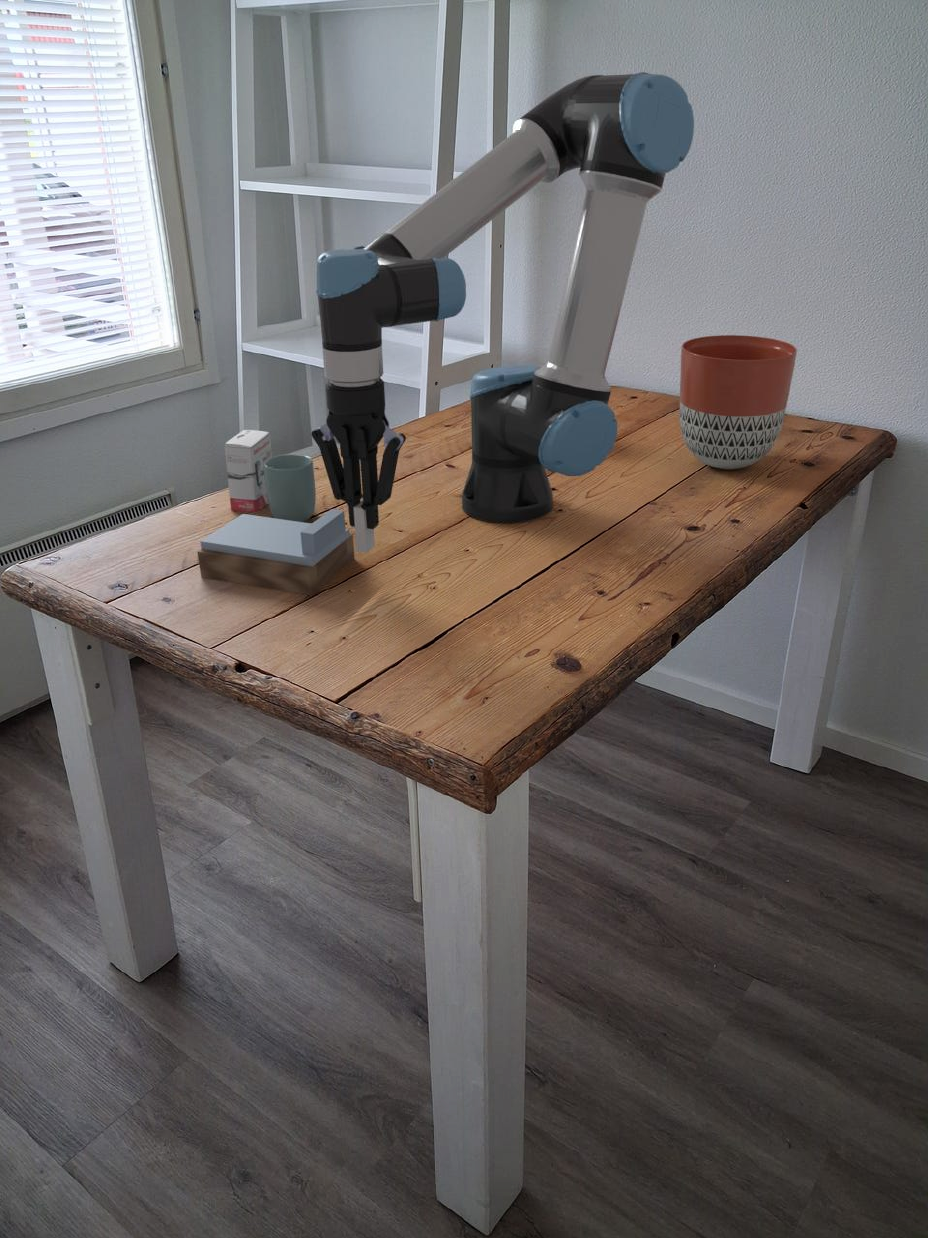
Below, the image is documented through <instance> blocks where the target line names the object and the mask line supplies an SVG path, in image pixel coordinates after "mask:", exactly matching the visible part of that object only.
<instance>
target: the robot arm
mask: <svg viewBox="0 0 928 1238" xmlns="http://www.w3.org/2000/svg"><path fill="white" fill-rule="evenodd" d="M688 99H689V97H688V94H687V92H686V91H685V89H684V88H683V86H682V85H681V84H680V83H679V82H678V81H677V80H675V79H674V78H672V77H670V76H668V75H666V74H665V75H663V74H656V73H655V74H654V73H648V72H645V71H643V72H637V73H631V74H630V73H629V74H610V75H608V74H607V75H605V74H604V75H603V74H602V75H601V74H595V75H594V74H593V75H592V74H591V75H589V76H584V77H581V78H578V79H576V80H574V81H572V82H571V83H568V84H566V85H564V86H562V87H561V88H560V89H558V90H557V91H555V92H554V93H552V94H551V95H549V96H548V97H546V98H545V99H543V100H542V101H541V102H539V103H538V104H537V105H535V106H534V107H533V108H531V109H530V110H529V111H527V112H526V113H525V114H524V115H522V116H521V117H520V118H519V119H517V120H516V121H515V122H514V123H513V125H512V128H511V132H510V133H511V134H510V135H509V136H508V137H506V138H505V139H504V140H502V141H500V143H499V144H497V145H496V146H495V147H493V148H492V149H491V150H490V151H489V152H487V153H486V154H484V155H483V156H482V157H480V158H479V159H478V160H477V161H475V162H474V163H472V164H471V166H469V167H468V168H466V170H463V171H462V172H461V173H459V175H457V176H456V177H455V178H454V179H453V180H451V181H449V182H448V183H447V184H445V186H444V187H442V188H441V189H440V190H438V191H437V192H435V193H434V194H433V195H431V196H430V197H429V198H427V200H425V201H424V202H422V203H421V204H420V205H419V206H417V207H416V208H415V209H414V210H412V211H411V212H410V213H409V214H407V215H406V216H404V217H403V218H402V219H401V220H400V221H398V222H396V223H395V224H394V225H393V226H392V227H390V228H389V229H388V230H386V231H385V232H384V233H383V234H381V235H380V236H378V237H376V239H374V240H373V241H372V242H370V243H369V244H368V245H367V246H366V245H361V246H354V247H353V246H352V247H349V248H347V249H345V248H344V249H333V250H328V251H325V252H323V253H321V254H320V255H319V256H318V258H317V261H316V295H317V300H318V301H317V302H318V309H319V318H320V331H321V345H322V357H323V358H322V360H323V361H322V362H323V372H324V378H325V379H327V382H326V383H325V386H324V387H325V396H326V398H325V399H326V408H327V410H328V414H327V417H326V422H325V424H322V425H321V426H319V427H317V428H315V429H314V430H312V431H311V438H313V441H315V443H316V445H317V446H318V448H319V451H320V455H321V457H322V460H323V464H324V467H325V471H326V475H327V477H328V481H329V483H330V484H329V485H330V487H331V491H332V494H333V497H334V499H335V500H337V501H340V500H341V501H343V502H344V503H346V504H347V510H348V523H349V525H350V527H352V528H353V527H354V530H355V531H354V532H355V546H356V547H355V548H356V552H358V553H364V554H367V553H369V552H370V550H371V549H373V548H374V547H375V545H376V542H375V541H376V540H375V539H376V538H375V529H376V528H377V527H378V526H379V524H380V521H379V520H380V519H379V518H380V517H379V506H382V505H383V504H385V503H386V502H387V501H388V500H390V499H391V496H392V491H393V487H394V482H395V474H396V471H397V466H398V465H397V464H398V460H399V454H400V451H401V448H402V447H403V445H404V443H405V442H406V440H407V437H406V434H404V433H397V432H396V431H395V430H393V429H392V428H390V424H389V423H390V422H389V420H388V419H387V416H386V413H385V412H386V394H385V393H386V392H385V381H384V380H383V379H382V378H381V377H383V375H384V359H383V339H382V337H383V334H382V332H383V330H382V328H391V327H396V326H405V325H411V324H419V323H420V324H421V323H427V322H439V321H441V320H446V319H449V318H454V317H456V316H458V315H459V314H460V313H461V312H462V310H463V309H464V306H465V302H466V299H467V291H466V290H467V283H466V278H465V275H464V272H463V270H462V268H461V266H460V265H459V264H458V263H457V262H456V261H455V260H454V259H451V258H449V257H447V258H446V256H448V255H449V254H451V252H453V251H454V250H455V249H457V248H458V247H460V246H461V245H462V244H463V243H464V242H465V241H467V240H468V239H469V238H471V237H472V236H473V235H474V234H476V233H477V232H478V231H480V230H481V229H482V228H484V227H485V226H486V225H488V224H489V223H490V222H492V220H494V219H495V218H496V217H497V216H499V215H500V214H501V213H503V212H504V211H505V210H506V209H508V208H509V207H510V206H511V205H513V204H514V203H516V202H517V201H518V200H519V199H521V198H522V197H523V196H524V195H526V194H527V193H528V192H530V191H531V190H532V189H533V188H534V187H536V186H537V185H538V184H540V183H541V182H542V183H545V184H549V183H553V182H554V181H556V180H557V179H558V178H559V177H561V176H562V175H563V174H565V173H567V172H569V171H572V170H575V169H579V172H578V175H579V177H580V179H581V181H582V182H583V184H584V186H585V189H586V191H585V196H584V200H583V205H582V208H581V213H580V218H579V222H578V227H577V230H576V236H575V239H574V244H573V248H572V253H571V257H570V261H569V267H568V271H567V273H566V274H567V275H566V280H565V285H564V287H563V288H564V289H563V292H562V297H561V301H560V306H559V309H558V313H557V314H558V315H557V318H556V323H555V327H554V331H553V335H552V340H551V341H552V342H551V345H550V349H549V354H548V358H547V362H546V363H545V364H544V365H542V366H539V365H524V364H522V365H521V364H520V365H508V366H507V365H506V366H499V367H498V366H497V367H492V368H488V369H487V368H486V369H483V370H480V371H478V372H477V373H475V374H474V375H473V376H472V379H471V384H470V385H471V387H470V394H469V395H470V396H469V399H470V412H471V413H470V415H471V419H470V420H471V421H470V422H471V423H470V424H471V465H470V468H469V471H468V475H467V477H466V480H465V482H464V483H465V484H464V485H463V486H464V487H463V490H462V493H461V509H462V510H463V512H465V513H466V515H468V516H470V517H471V518H474V519H477V520H481V521H485V522H491V523H499V524H500V523H501V524H502V523H503V524H512V523H513V524H515V523H516V524H517V523H524V522H529V521H534V520H537V519H540V518H543V517H544V516H546V515H548V514H549V513H551V511H552V509H553V508H554V505H553V502H554V501H553V500H554V495H553V489H552V488H551V483H550V480H549V477H548V475H547V471H546V470H548V471H549V472H551V473H558V474H561V475H564V476H566V477H579V476H583V475H586V474H589V473H590V472H592V471H594V470H595V468H596V467H597V466H600V465H601V464H602V463H604V461H605V460H607V457H608V456H609V455H610V453H611V451H612V449H613V447H614V445H615V443H616V440H617V436H618V430H619V428H618V426H619V425H618V420H617V419H616V418H615V417H616V414H615V412H614V411H613V409H612V408H611V407H610V406H609V405H608V404H609V402H610V397H611V393H612V387H611V385H610V383H609V382H608V380H607V378H606V375H605V374H606V372H607V371H606V370H607V368H608V361H609V359H610V354H611V350H612V346H613V342H614V338H615V333H616V329H617V326H618V322H619V318H620V313H621V309H622V306H623V300H624V299H625V298H624V297H625V294H626V288H627V285H628V282H629V278H630V274H631V270H632V264H633V262H634V257H635V253H636V249H637V245H638V241H639V237H640V233H641V228H642V225H643V221H644V217H645V211H646V208H647V204H648V202H649V201H650V200H651V199H653V198H654V197H656V196H658V195H659V194H660V193H661V192H662V189H663V186H664V182H665V178H666V174H667V173H670V172H671V171H673V170H675V169H676V168H678V167H679V166H680V163H682V162H684V161H685V159H686V157H687V156H688V154H689V152H690V150H691V147H692V143H693V138H694V133H695V132H694V131H695V119H694V111H693V107H692V104H691V103H690V102H689V100H688ZM383 438H384V440H383V446H384V448H385V449H384V451H383V454H382V459H381V464H380V471H378V462H377V461H378V457H377V454H378V450H379V448H378V445H379V444H380V442H381V440H382V439H383ZM336 441H337V442H338V443H339V447H340V448H338V446H337V442H336ZM339 449H340V450H339ZM341 458H342V459H341ZM378 473H379V476H378Z"/></svg>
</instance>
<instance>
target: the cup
mask: <svg viewBox="0 0 928 1238" xmlns="http://www.w3.org/2000/svg"><path fill="white" fill-rule="evenodd" d="M263 470H264V480H265V488H266V495H267V500H268V504H267V505H268V507H269V510H270V513H271V515H272V516H273V517H272V518H276V519H283V520H290V521H297V522H304V523H306V522H307V521H309V520H310V519H311V517H312V516H313V515H314V513H315V508H316V501H317V500H316V498H317V497H316V496H317V492H316V479H315V478H316V477H315V467H314V461H313V459H312V458H311V457H310V456H308V455H303V454H296V453H294V454H292V453H288V454H279V455H275V456H272V458H269V459H268V460H266V461H265V462H264V465H263Z"/></svg>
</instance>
